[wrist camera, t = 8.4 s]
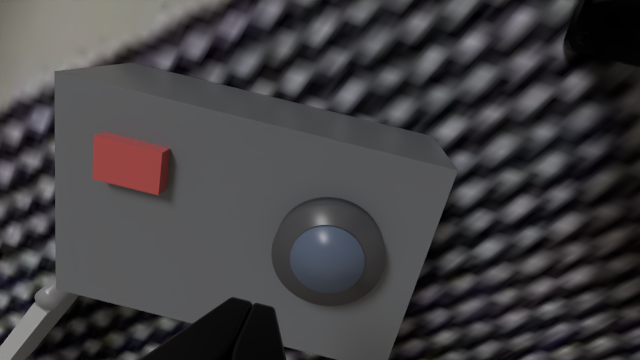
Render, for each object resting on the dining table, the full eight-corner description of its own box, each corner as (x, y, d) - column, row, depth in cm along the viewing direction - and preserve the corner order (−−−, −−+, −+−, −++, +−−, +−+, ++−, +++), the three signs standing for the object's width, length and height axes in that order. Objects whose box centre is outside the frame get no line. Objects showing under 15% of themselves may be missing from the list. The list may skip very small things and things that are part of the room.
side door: (35, 352, 24) (-36, 421, 20) (14, 337, 24) (-63, 404, 20) (123, 246, 21) (62, 300, 17) (99, 228, 21) (31, 278, 17)
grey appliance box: (432, 136, 18) (465, 180, 12) (377, 300, 21) (383, 394, 16) (132, 62, 18) (31, 73, 13) (122, 236, 21) (37, 307, 16)
